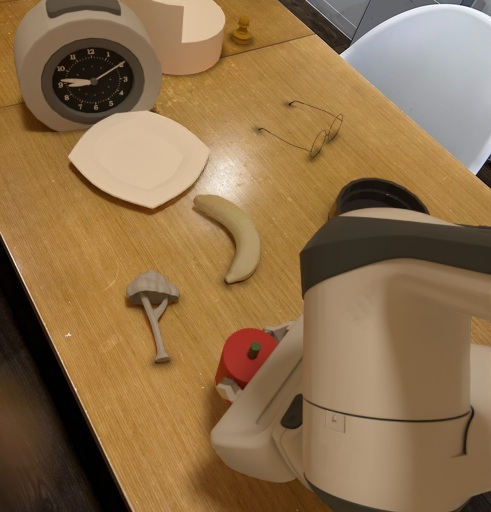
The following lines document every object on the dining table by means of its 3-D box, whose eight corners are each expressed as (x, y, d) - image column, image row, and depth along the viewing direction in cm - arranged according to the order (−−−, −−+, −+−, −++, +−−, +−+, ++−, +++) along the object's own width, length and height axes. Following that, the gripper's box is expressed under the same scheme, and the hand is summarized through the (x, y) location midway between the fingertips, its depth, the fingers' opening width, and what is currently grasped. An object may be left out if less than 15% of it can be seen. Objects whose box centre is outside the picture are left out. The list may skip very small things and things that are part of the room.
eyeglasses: (254, 132, 88) (259, 109, 84) (291, 102, 95) (297, 79, 91) (306, 164, 85) (315, 142, 81) (340, 131, 92) (350, 109, 88)
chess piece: (229, 34, 105) (232, 11, 101) (246, 33, 106) (250, 11, 102) (235, 45, 103) (239, 22, 99) (252, 44, 104) (257, 21, 100)
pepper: (279, 382, 56) (298, 348, 48) (242, 419, 53) (256, 388, 45) (241, 345, 58) (255, 307, 50) (203, 378, 55) (212, 343, 47)
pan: (437, 238, 80) (450, 220, 77) (385, 289, 73) (398, 272, 69) (364, 183, 85) (373, 164, 82) (308, 225, 77) (316, 206, 74)
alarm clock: (30, 134, 79) (2, 14, 63) (24, 104, 83) (-4, -16, 67) (161, 120, 86) (165, 8, 70) (150, 93, 90) (151, -19, 74)
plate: (224, 157, 83) (226, 149, 81) (154, 229, 72) (155, 221, 70) (131, 105, 86) (131, 96, 84) (51, 166, 75) (49, 157, 74)
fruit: (234, 197, 78) (237, 182, 76) (272, 274, 71) (277, 260, 68) (191, 206, 76) (192, 191, 73) (226, 286, 68) (229, 273, 66)
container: (230, 75, 97) (241, 8, 86) (125, 74, 92) (123, 3, 81) (211, 18, 108) (218, -47, 97) (116, 15, 102) (113, -55, 92)
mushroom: (140, 355, 56) (128, 262, 61) (130, 368, 60) (119, 278, 65) (197, 350, 60) (180, 262, 65) (184, 362, 63) (169, 278, 68)
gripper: (394, 275, 46) (284, 274, 56) (273, 459, 35) (163, 416, 45) (415, 326, 48) (306, 316, 59) (309, 512, 37) (197, 460, 47)
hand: (243, 360), depth 52 cm, fingers closed on pepper, 6 cm apart
